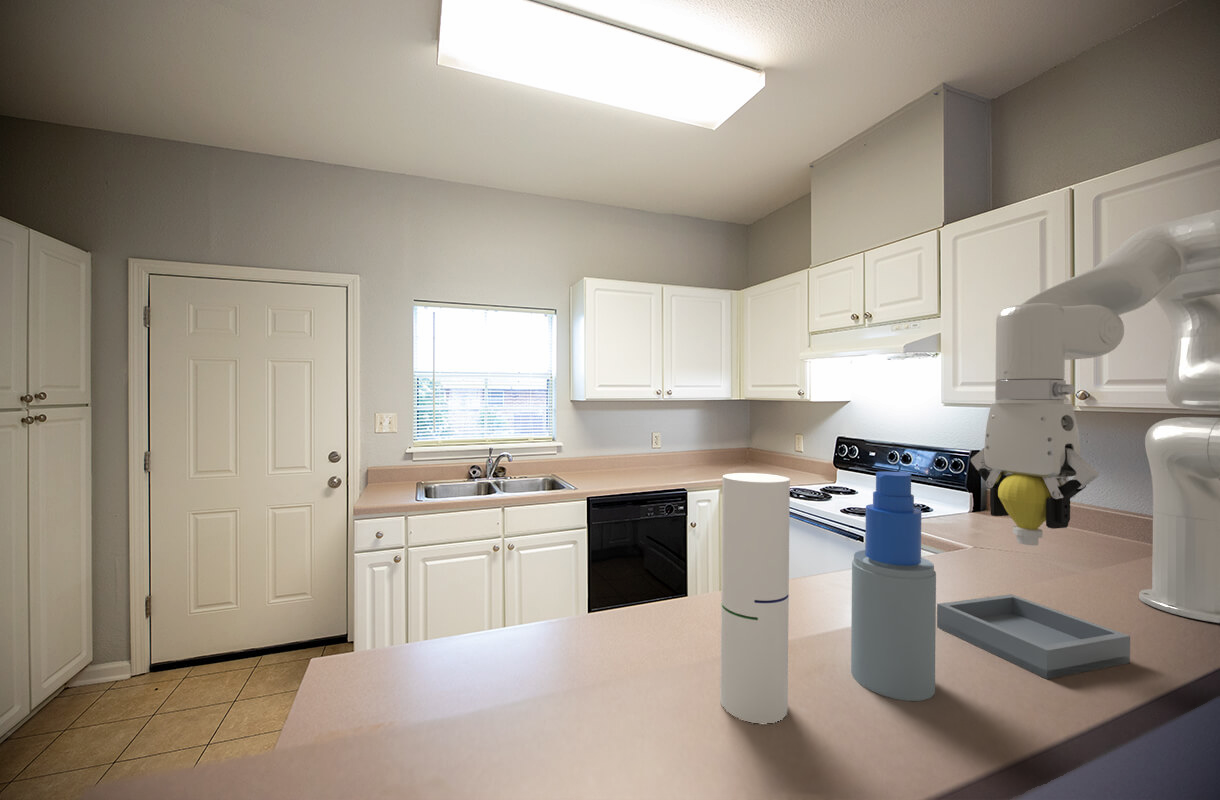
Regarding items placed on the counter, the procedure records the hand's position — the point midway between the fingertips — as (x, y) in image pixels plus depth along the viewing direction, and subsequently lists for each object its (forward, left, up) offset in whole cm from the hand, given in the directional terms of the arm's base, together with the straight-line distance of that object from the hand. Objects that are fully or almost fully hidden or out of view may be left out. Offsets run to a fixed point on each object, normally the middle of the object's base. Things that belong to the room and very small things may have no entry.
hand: (1027, 520), depth 72 cm
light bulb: (0, 0, -3) cm, 3 cm away
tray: (0, 0, -17) cm, 17 cm away
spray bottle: (+26, +2, -18) cm, 31 cm away
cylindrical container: (+45, +2, -18) cm, 48 cm away
